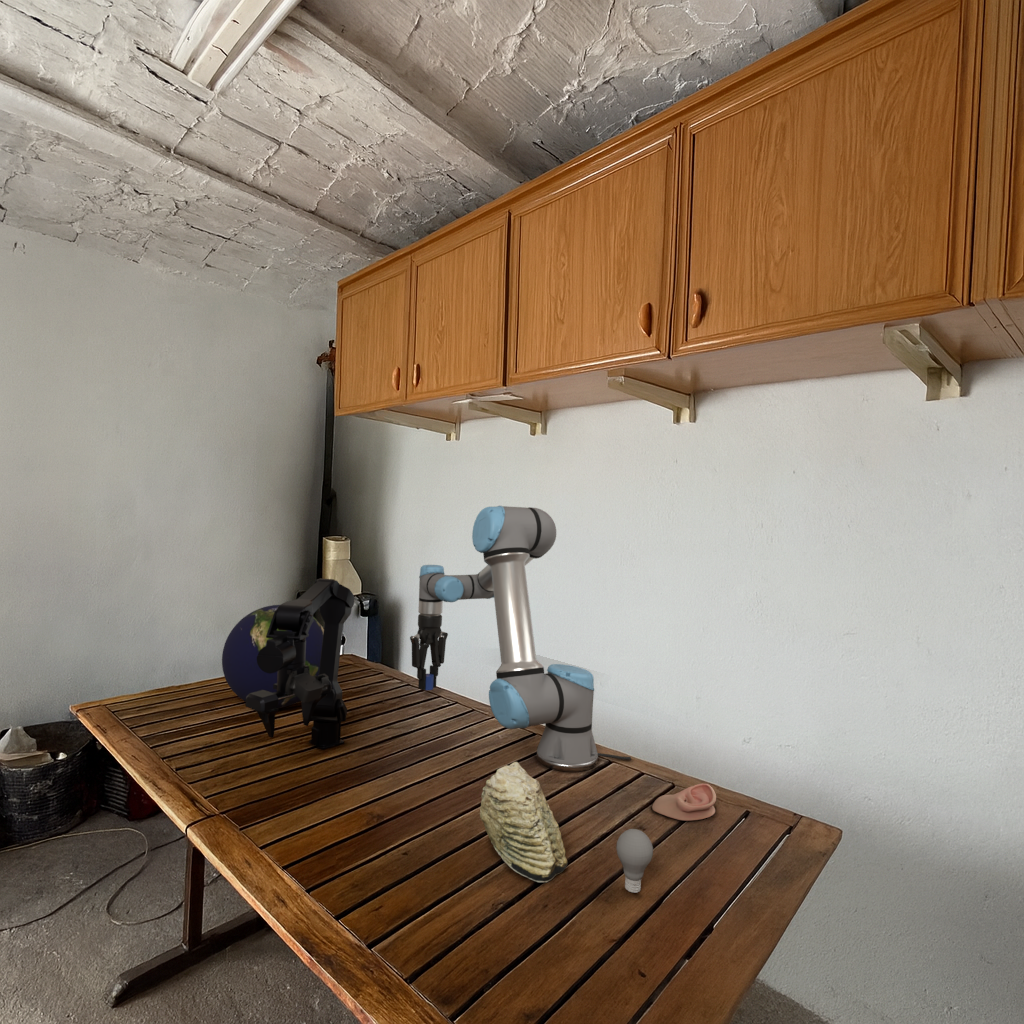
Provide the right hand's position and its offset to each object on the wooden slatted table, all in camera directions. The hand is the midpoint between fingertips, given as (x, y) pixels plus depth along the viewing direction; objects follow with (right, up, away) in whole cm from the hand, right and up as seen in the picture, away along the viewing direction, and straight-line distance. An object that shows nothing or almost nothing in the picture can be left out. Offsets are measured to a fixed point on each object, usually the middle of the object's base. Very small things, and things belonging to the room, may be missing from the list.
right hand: (427, 687), depth 200 cm
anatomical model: (+64, -8, -65) cm, 91 cm away
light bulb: (+47, -8, -95) cm, 106 cm away
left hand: (-23, +7, -60) cm, 65 cm away
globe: (-43, -2, -12) cm, 45 cm away
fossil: (+28, -7, -86) cm, 90 cm away
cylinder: (0, 0, 0) cm, 0 cm away
